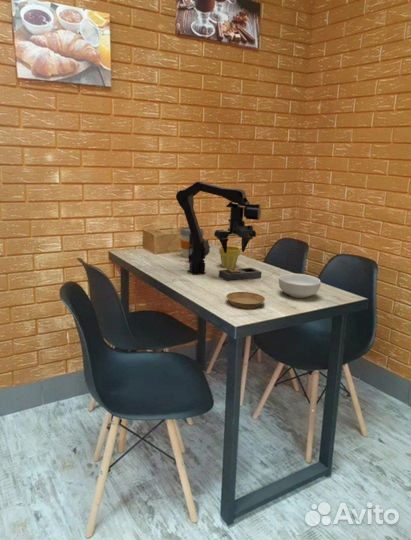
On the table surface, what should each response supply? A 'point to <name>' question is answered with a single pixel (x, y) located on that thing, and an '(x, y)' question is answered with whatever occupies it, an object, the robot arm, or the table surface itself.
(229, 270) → the nut
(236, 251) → the plant pot
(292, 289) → the cereal bowl
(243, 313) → the table surface
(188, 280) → the table surface
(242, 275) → the rail
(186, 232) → the reusable coffee cup
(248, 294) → the plant saucer
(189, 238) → the deodorant
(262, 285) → the table surface
